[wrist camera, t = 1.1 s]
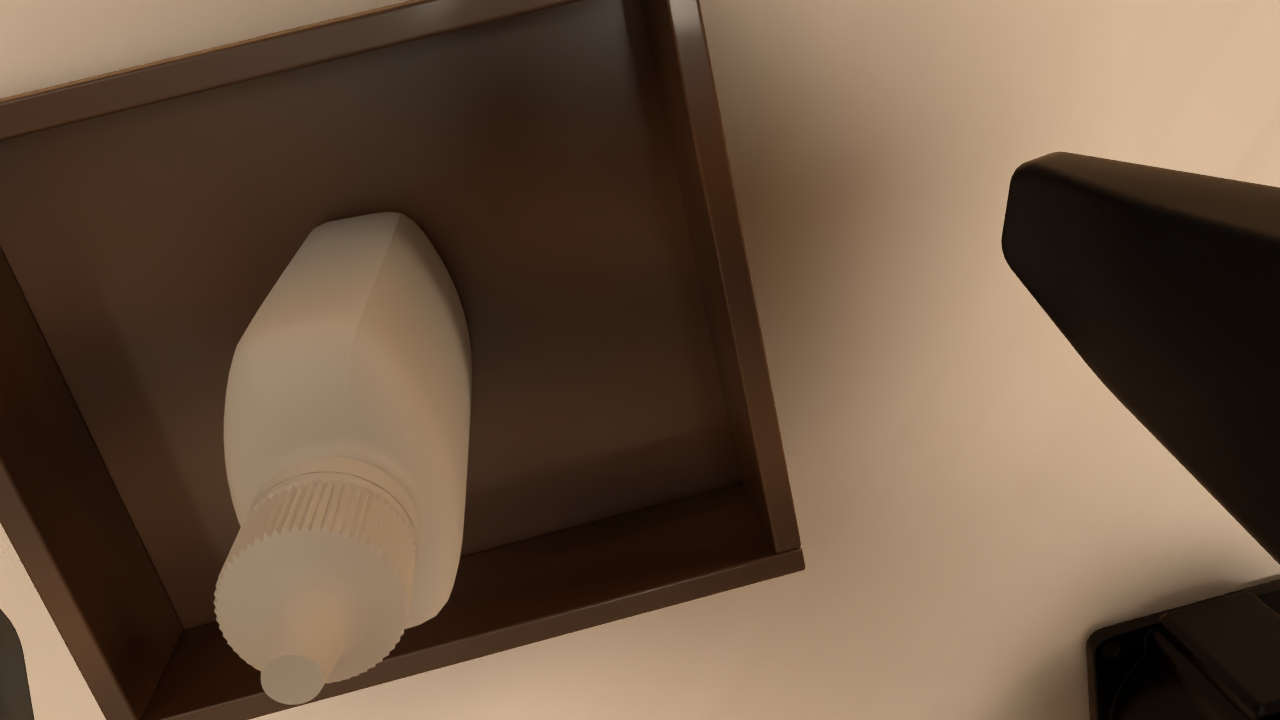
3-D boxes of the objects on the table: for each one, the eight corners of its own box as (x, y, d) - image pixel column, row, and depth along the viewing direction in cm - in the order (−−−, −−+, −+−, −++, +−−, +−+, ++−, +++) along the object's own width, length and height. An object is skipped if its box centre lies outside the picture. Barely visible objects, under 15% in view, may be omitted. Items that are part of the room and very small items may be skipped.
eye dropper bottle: (261, 416, 23) (44, 833, 12) (324, 182, 21) (141, 414, 10) (449, 466, 24) (411, 890, 13) (523, 246, 22) (552, 518, 11)
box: (763, 487, 26) (806, 570, 22) (175, 642, 25) (123, 754, 22) (654, -59, 21) (687, -64, 17) (-80, 117, 20) (-203, 150, 17)
